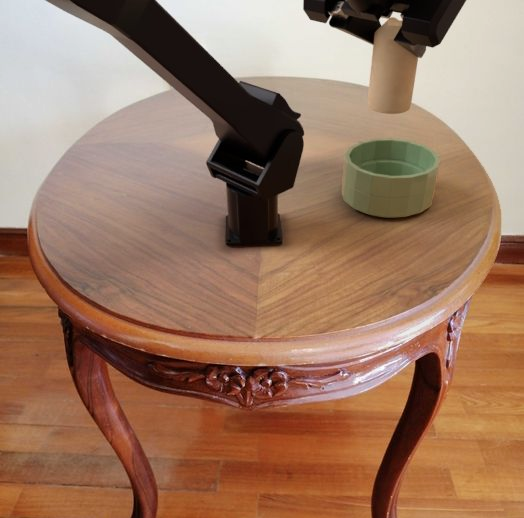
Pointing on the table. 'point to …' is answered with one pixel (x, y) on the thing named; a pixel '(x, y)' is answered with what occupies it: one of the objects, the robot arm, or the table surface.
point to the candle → (391, 72)
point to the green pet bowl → (389, 177)
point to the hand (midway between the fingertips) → (402, 49)
